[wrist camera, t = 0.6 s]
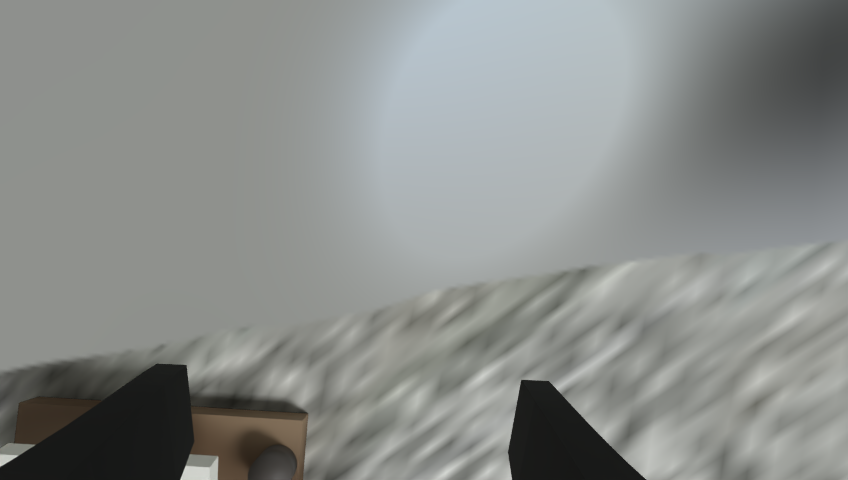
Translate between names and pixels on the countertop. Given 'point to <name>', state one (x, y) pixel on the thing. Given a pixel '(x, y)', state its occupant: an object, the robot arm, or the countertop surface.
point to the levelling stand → (199, 436)
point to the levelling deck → (196, 476)
